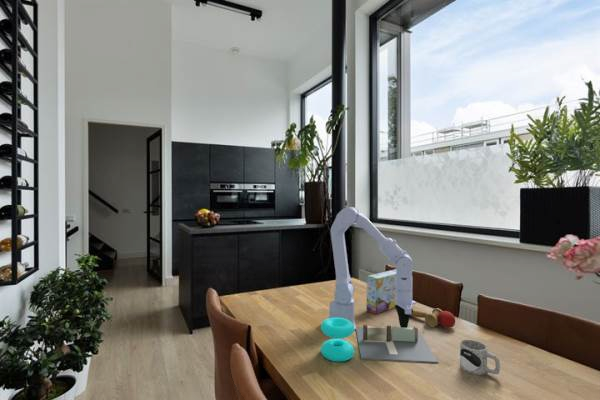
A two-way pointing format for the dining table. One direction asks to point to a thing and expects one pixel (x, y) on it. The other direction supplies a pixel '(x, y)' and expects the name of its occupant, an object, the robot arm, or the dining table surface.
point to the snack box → (381, 292)
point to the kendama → (436, 317)
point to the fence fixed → (376, 333)
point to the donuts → (337, 347)
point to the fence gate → (405, 334)
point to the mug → (476, 358)
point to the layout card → (395, 349)
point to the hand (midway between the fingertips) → (403, 327)
